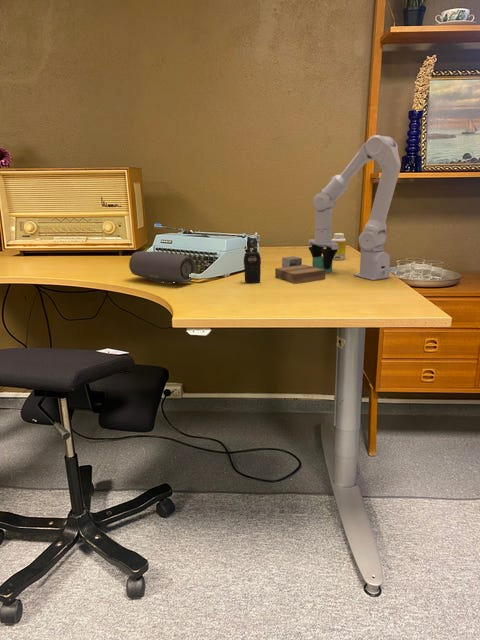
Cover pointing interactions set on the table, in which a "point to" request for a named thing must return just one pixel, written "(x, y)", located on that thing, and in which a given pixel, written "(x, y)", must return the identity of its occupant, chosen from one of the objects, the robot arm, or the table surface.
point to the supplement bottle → (339, 246)
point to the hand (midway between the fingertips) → (322, 267)
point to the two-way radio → (252, 264)
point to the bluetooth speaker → (162, 266)
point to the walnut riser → (300, 273)
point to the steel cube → (291, 261)
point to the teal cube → (320, 263)
